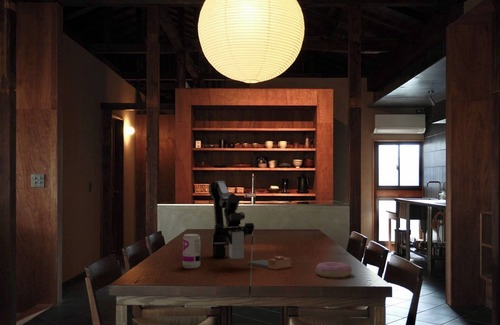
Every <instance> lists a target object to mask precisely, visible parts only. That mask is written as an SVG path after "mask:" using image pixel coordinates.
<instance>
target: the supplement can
mask: <svg viewBox="0 0 500 325" xmlns="http://www.w3.org/2000/svg"><path fill="white" fill-rule="evenodd" d="M182 267H183V268H184V269H197V268H199V267H201V236H200V234H199V233H198V234H197V233H186V234H184V235H183V237H182Z"/></svg>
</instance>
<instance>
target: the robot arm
mask: <svg viewBox="0 0 500 325" xmlns="http://www.w3.org/2000/svg"><path fill="white" fill-rule="evenodd" d="M208 193H209V197H210V198H211V200H212V202H213V212H214V228H213V230H212V234H211V238H210V245H211V246H212V256H211V257H212V258H225V257H227V256H228V248H227V246H229V243H230V244H232V242H231V238H230V234H229V231H232V229H239V230H241V231H243V232H244V240H245V238H246V236H247V235H252V234H253V233H254V229H255V224H254V222H253V223H252V222H244V226H241V224H242V223H241V221H242V220H245V218H246V216H245V212H244V211H240V212H237V210H238V207H239V204H240V200H241V199H240V197H239V196H238V195H236V194H235V192H234V193H233V192H231V193H230V192H229V190H228V187H227V186H226V181H224V180H216V181H214V182H212V183H210V184H209V185H208ZM224 218H225V222H224ZM224 223H225V224H224Z"/></svg>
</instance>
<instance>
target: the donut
mask: <svg viewBox="0 0 500 325" xmlns="http://www.w3.org/2000/svg"><path fill="white" fill-rule="evenodd" d="M315 272H316V274H317V275H318V276H321V277H324V278H331V279H336V278H337V279H339V278H340V279H343V278H346V277H349V276H350V275H351V274H352V267H351V266H350V265H349V264H348V263H344V262H341V261H340V262H339V261H326V262H319V263H318V264H317V265H316V267H315Z"/></svg>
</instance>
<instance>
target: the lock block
mask: <svg viewBox="0 0 500 325" xmlns="http://www.w3.org/2000/svg"><path fill="white" fill-rule="evenodd" d="M229 234H230V238H231V242H232V244H230V243H229V245H228V248H229V249H228V257H229V258H230V259H231V260H233V259H234V260H235V259H238V260H239V259H244V258H245V239H244V232H243V231H241V230H239V229H232V231H229Z"/></svg>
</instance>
